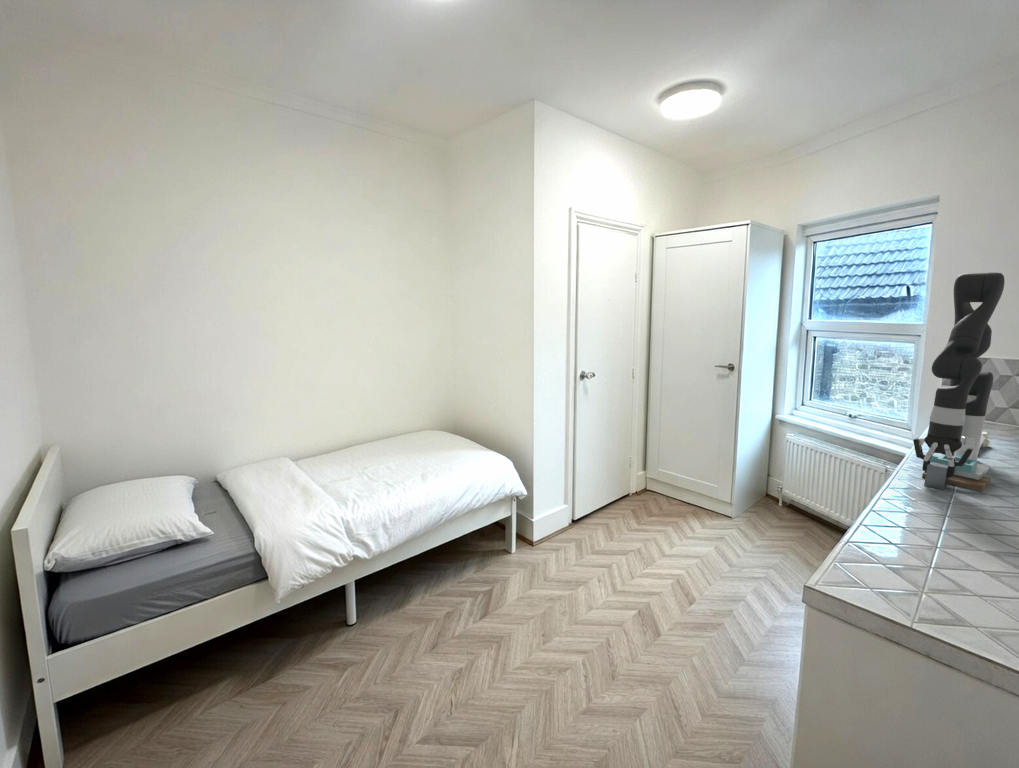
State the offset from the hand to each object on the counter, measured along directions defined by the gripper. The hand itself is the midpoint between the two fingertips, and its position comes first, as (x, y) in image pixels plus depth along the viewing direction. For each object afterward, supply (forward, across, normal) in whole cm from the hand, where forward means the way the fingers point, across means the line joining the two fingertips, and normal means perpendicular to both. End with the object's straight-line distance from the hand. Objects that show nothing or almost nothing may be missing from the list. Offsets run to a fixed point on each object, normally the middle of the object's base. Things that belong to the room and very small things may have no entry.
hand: (937, 474), depth 143 cm
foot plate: (+4, -2, -14) cm, 15 cm away
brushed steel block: (+4, 0, 0) cm, 4 cm away
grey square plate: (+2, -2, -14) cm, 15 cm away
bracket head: (-1, -1, -11) cm, 11 cm away
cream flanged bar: (+4, +1, -68) cm, 68 cm away
